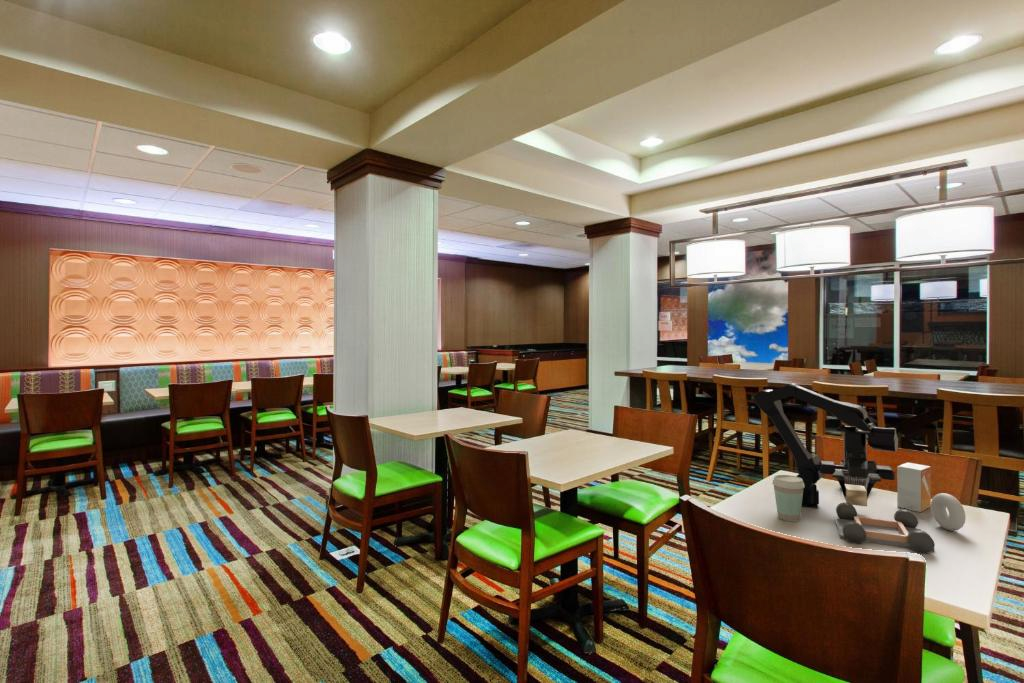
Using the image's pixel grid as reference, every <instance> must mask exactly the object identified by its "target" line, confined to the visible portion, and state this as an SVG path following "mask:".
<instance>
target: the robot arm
mask: <svg viewBox="0 0 1024 683" xmlns="http://www.w3.org/2000/svg"><path fill="white" fill-rule="evenodd" d="M789 397H792V398H794V399H796V400H798V401H801V402H803V403H806V404H808V405H811V406H813V407H815V408H818V409H821V410H823V411H826V412H828V413H829V414H831V415H832V416H834V417H835V418H836V419H837V420H839V421H841V422H842V423H841V424H840V425H839V427H837V428H835V431H837V432H842V433H843V460H844V466H841V465H840V464H835V462H834V461H829V460H828V461H827V460H821V459H820V457H819V455H818V454H815V455H813V454H811V452H809V451H808V450H807V448H806V447H805V445H804V442H803V441H802V439H800V436H799V435H798V433H797V432H796V430H795V428H794V427H793V425H792V424H791V422H790V420H789V419H788V417H787V416H786V414H785V413H784V412H785V411H784V408H783V402H782V401H781V400H783V399H786V398H789ZM754 402H755V404H756V406H758V408H759V409H760V410H761V412H763V413H764V414H765V415H766V416H768V418H770V419H771V421H772V424H773V425H774V426H775V429H776V430H777V431H778V433H779V434H780V436H781V438H782V440H783V441H784V443H785V445H786V446H787V448H788V450H789V451H790V453H791V455H792V456H793V459H794V462H795V468H796V470H797V473H798V474H797V475H795V476H796V477H799V478H801V479H802V480H803V483H804V486H805V487H804V489H803V498H802V506H801V507H808V508H817V509H818V507H819V506H818V505H820V495H819V494H820V491H819V489H818V487H817V482H819V481H820V480H821V479H822V478H823V477H824V476H825V475H831V476H832V477H833V478H836V480H837V481H838V483H839V486H840V488H841V491H842V492H841V493H842V494H843V498H845V497H846V489H845V483H844V476H843V474H842V473H843V472H848V474H849V476H851V477H862V478H866V486H865V489H866V491H867V500H868V499H869V496H870V494H871V491H872V490H873V488H874V486H875V484H876V483H877V482H879V483H880V482H881V481H882V480H888V481H889V480H890V481H895V480H896V474H895V471H894V469H892V467H891V466H888V465H878V464H877V462H876V460H868V458H867V445H868V446H869V447H870V448H871V449H872V450H876V451H884V452H885V451H886V452H892V453H893V452H894V453H897V452H898V447H899V438H898V435H897V428H895V427H879V426H877V425H876V424H875V423H874V422H873V421H872V420H871V419H870V417H869V416H868V412H867V410H866V408H865V407H864V406H861V405H859V404H855V403H851V402H846V401H839V400H835V399H833V398H830V397H828V396H827V395H826V396H825V395H823V394H820V393H817V392H815V391H813V390H810V389H807V388H805V387H803V386H800V385H799V384H797V383H794V382H792V383H788V384H786V385H784V386H782V387H778V388H776V389H772V388H771V389H770V388H767V389H763V390H761V391H758V392H756V394H755V396H754ZM847 469H848V470H847Z"/></svg>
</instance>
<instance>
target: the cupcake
mask: <svg viewBox="0 0 1024 683" xmlns="http://www.w3.org/2000/svg"><path fill="white" fill-rule="evenodd" d="M839 465H841V466H844V459H843V460H841V461H840V463H839ZM847 470H848V469H847ZM842 474H843V476H844V483H845V484H850V485H860V486H864V487H865V486H866V478H862V477H851V476H849V474H848V472H843V473H842Z"/></svg>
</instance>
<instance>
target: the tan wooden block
mask: <svg viewBox="0 0 1024 683" xmlns="http://www.w3.org/2000/svg"><path fill="white" fill-rule="evenodd" d="M845 489H846V497H844V500H845V503H849V504H851V505H853V506H859V507H868V499H867V491H866V489H865V487H864V486H860V485H850V484H845Z"/></svg>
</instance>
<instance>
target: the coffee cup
mask: <svg viewBox="0 0 1024 683" xmlns="http://www.w3.org/2000/svg"><path fill="white" fill-rule="evenodd" d="M796 476H797V475H790V474H777V475H774V477H773V479H772V485H773V490H774V499H775V505H776V506H775V507H776V512H777V513H776V514H777V517H778V518H779V519H780V518H781V519H780V520H782V519H783V521H786V520H787V522H798V520H799V521H800V520H801V513H802V507H803V506H802V498H803V489H804V487H805V486H804V483H803V480H802V479H801V478H799V477H796Z"/></svg>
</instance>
